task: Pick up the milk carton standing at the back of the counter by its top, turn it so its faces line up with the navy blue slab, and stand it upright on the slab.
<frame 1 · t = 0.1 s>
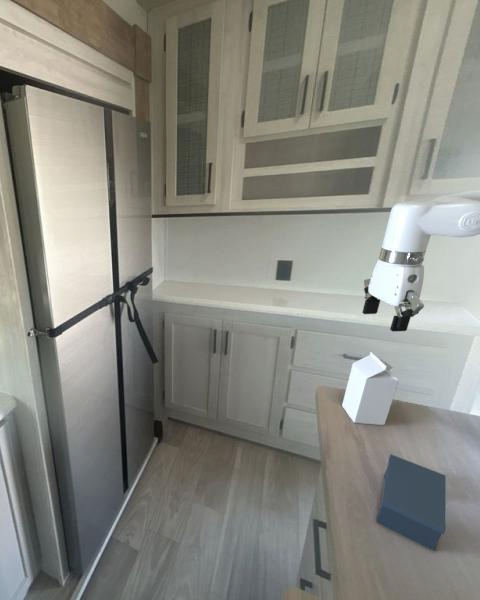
hand: (382, 321, 83), 29 cm above the countertop, tool pointing down, fingers open, 9 cm apart
navy blue slab: (406, 507, 69), on the countertop
milk carton: (362, 416, 93), on the countertop
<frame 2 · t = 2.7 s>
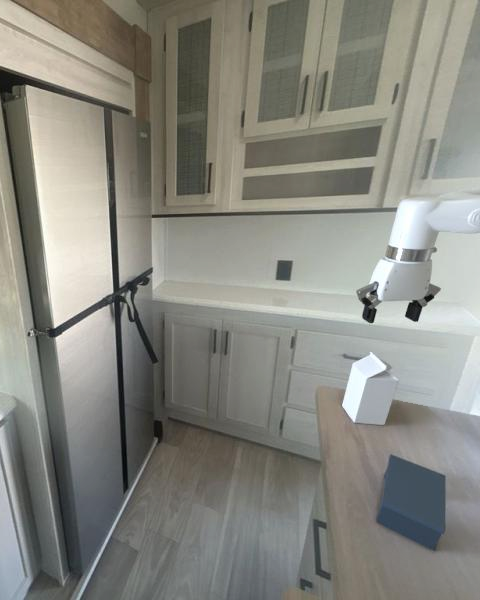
hand: (389, 320, 82), 30 cm above the countertop, tool pointing down, fingers open, 9 cm apart
nothing on the countertop moved.
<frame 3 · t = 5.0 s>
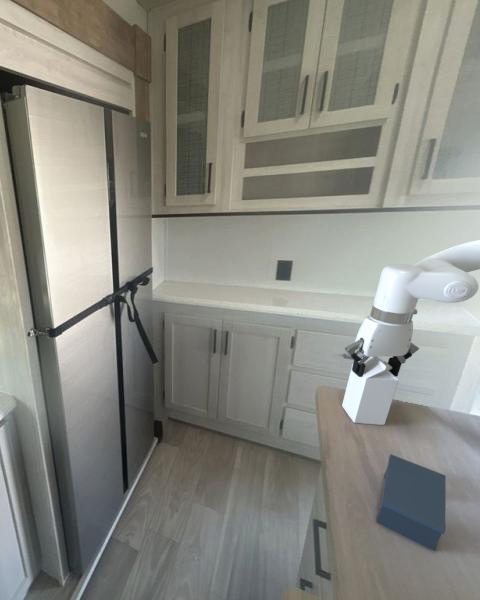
hand: (374, 373, 88), 14 cm above the countertop, tool pointing down, fingers closed on milk carton, 7 cm apart
milk carton: (361, 416, 93), on the countertop, touching gripper
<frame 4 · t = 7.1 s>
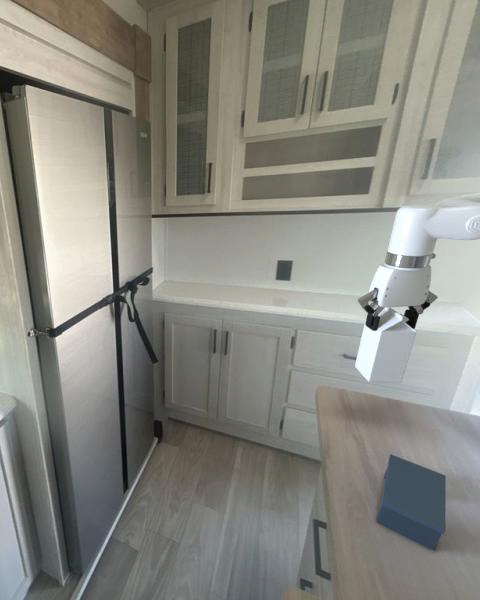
hand: (389, 327, 83), 28 cm above the countertop, tool pointing down, fingers closed on milk carton, 7 cm apart
milk carton: (376, 375, 88), point 14 cm above the countertop, touching gripper
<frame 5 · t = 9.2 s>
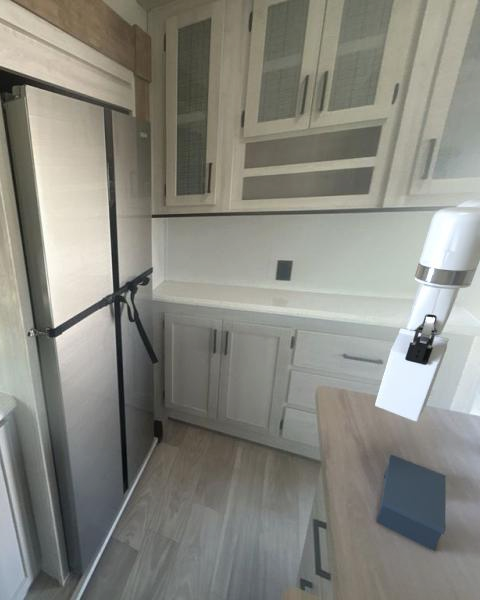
hand: (417, 352, 69), 30 cm above the countertop, tool pointing down, fingers closed on milk carton, 7 cm apart
milk carton: (399, 407, 75), point 15 cm above the countertop, touching gripper
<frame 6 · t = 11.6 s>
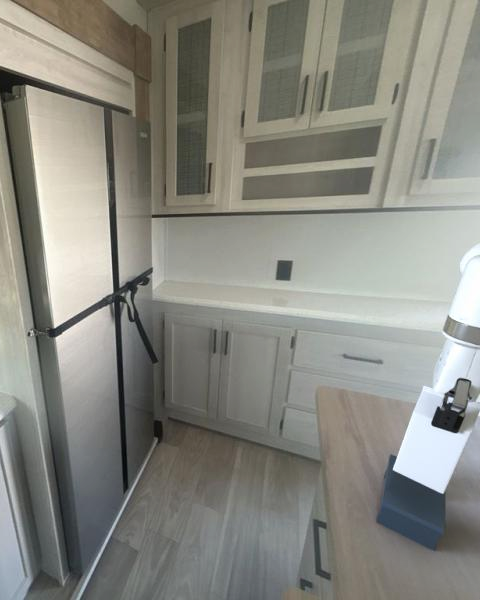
hand: (444, 415, 60), 25 cm above the countertop, tool pointing down, fingers closed on milk carton, 7 cm apart
milk carton: (420, 472, 65), point 10 cm above the countertop, touching gripper
when the fingers open (20 cm above the countertop, at t = 13.4 s): milk carton stays where it is, resting on navy blue slab.
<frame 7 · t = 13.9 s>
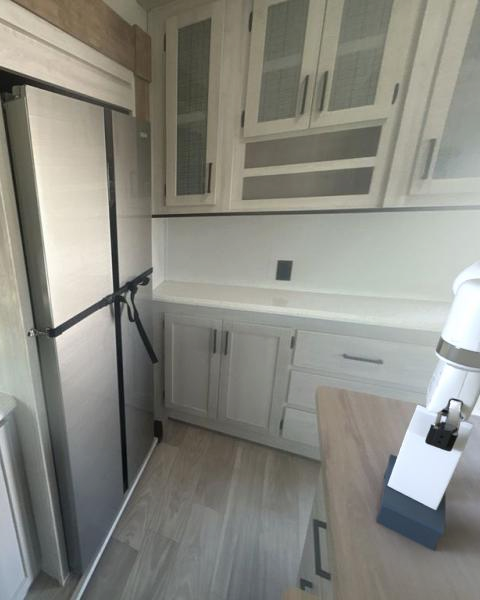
hand: (437, 430, 61), 21 cm above the countertop, tool pointing down, fingers open, 9 cm apart
milk carton: (414, 488, 67), point 6 cm above the countertop, touching navy blue slab
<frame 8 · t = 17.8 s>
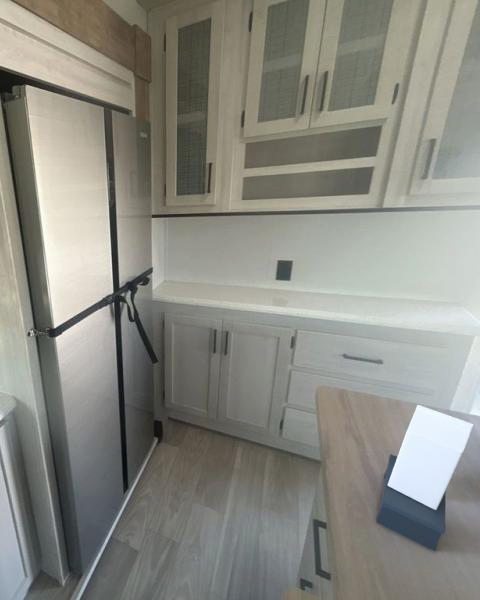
nothing on the countertop moved.
at the end: milk carton inside the target area on the navy blue slab (0.1 cm from its centre), point 5.8 cm above the navy blue slab's base; milk carton tilted 0° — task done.
